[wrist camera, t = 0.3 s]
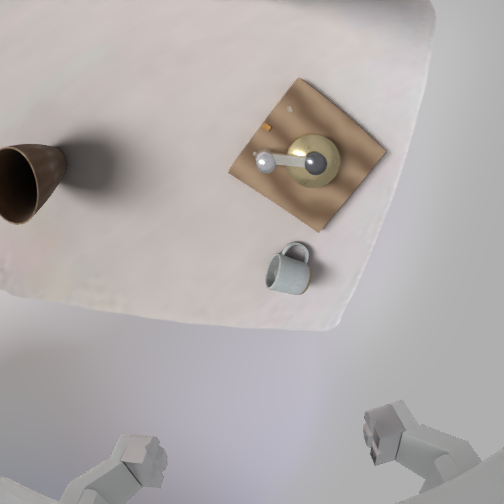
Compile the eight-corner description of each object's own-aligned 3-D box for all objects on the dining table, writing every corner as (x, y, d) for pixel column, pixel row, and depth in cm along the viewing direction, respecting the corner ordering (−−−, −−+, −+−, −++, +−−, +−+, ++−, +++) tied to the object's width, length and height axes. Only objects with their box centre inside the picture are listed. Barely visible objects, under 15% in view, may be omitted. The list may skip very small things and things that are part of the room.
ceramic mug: (295, 283, 69) (301, 304, 62) (263, 274, 67) (266, 295, 60) (315, 246, 64) (324, 264, 57) (281, 235, 62) (286, 253, 56)
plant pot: (22, 154, 49) (-23, 176, 35) (61, 116, 46) (13, 130, 32) (50, 204, 56) (11, 237, 42) (91, 173, 53) (51, 201, 39)
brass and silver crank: (257, 127, 48) (259, 132, 42) (341, 137, 49) (355, 145, 43) (252, 179, 53) (253, 193, 47) (332, 187, 54) (344, 201, 48)
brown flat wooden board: (297, 78, 46) (299, 77, 44) (381, 149, 53) (386, 151, 51) (228, 170, 55) (228, 173, 53) (316, 228, 61) (318, 233, 59)
